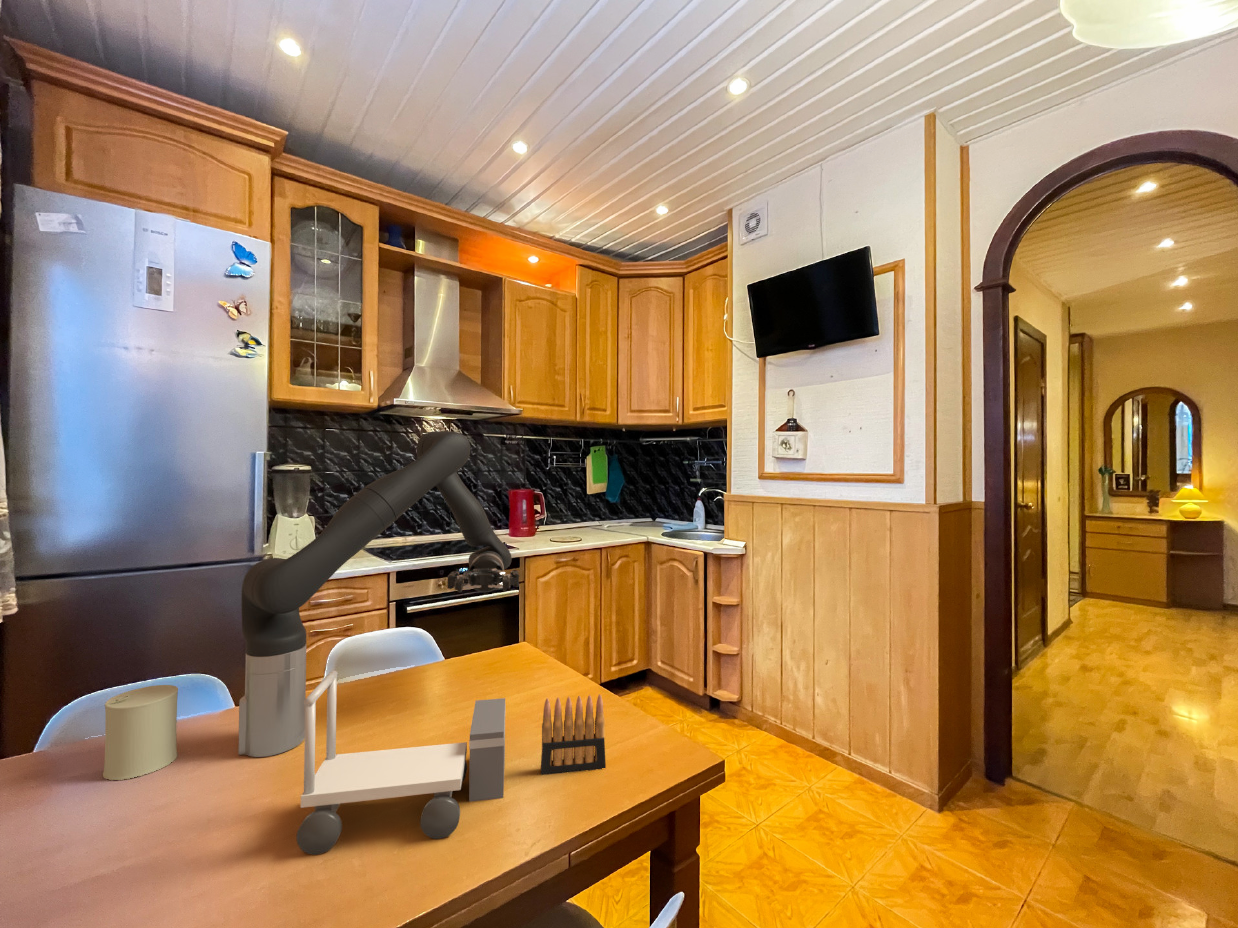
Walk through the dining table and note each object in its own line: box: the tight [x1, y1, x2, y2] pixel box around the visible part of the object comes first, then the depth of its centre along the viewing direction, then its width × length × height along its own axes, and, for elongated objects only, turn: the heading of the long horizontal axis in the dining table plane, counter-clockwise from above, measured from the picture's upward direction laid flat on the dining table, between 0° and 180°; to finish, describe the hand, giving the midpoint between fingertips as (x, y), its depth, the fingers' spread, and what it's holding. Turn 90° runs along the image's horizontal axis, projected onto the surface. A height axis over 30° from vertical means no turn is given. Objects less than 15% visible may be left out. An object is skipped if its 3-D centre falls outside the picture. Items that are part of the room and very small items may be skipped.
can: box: [102, 684, 179, 781], centre depth 88 cm, size 9×9×12 cm
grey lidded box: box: [468, 697, 506, 803], centre depth 84 cm, size 5×12×10 cm, turn 11°
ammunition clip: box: [540, 694, 607, 776], centre depth 87 cm, size 11×2×12 cm, turn 101°
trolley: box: [296, 670, 468, 856], centre depth 75 cm, size 20×12×20 cm, turn 101°
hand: (482, 586), depth 102 cm, fingers open, 8 cm apart
